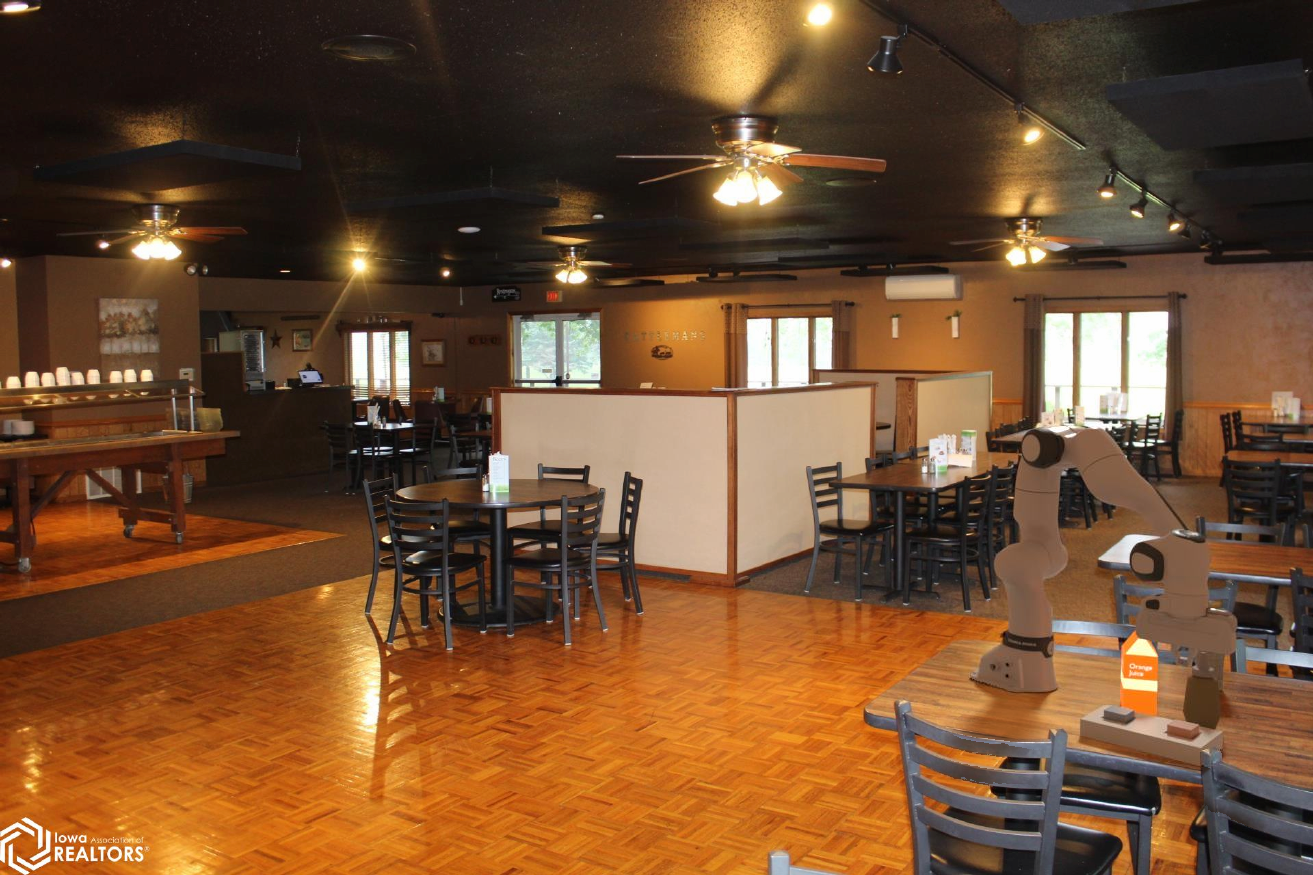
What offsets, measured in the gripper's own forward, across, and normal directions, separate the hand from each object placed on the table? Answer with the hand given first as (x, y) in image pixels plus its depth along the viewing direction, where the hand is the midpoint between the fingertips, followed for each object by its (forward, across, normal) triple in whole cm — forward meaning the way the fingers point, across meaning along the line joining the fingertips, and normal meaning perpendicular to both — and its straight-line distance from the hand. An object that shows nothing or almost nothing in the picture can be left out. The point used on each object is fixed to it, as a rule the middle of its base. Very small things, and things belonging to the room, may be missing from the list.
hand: (1183, 665), depth 230 cm
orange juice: (+19, +18, -22) cm, 34 cm away
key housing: (+19, +7, 0) cm, 20 cm away
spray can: (+19, +11, -51) cm, 55 cm away
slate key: (+17, +14, 0) cm, 22 cm away
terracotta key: (+17, 0, 0) cm, 17 cm away
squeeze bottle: (+19, +2, -18) cm, 26 cm away
